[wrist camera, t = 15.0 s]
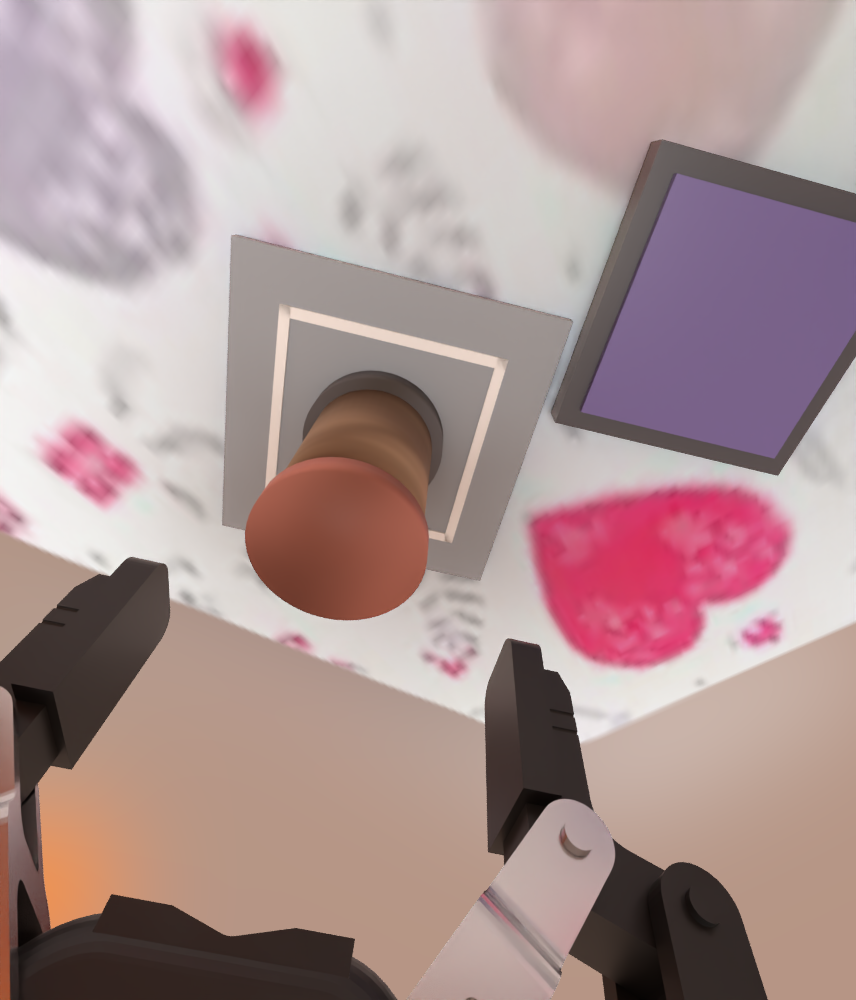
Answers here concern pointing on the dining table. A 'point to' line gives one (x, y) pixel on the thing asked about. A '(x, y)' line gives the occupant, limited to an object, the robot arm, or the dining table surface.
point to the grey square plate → (394, 349)
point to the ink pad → (718, 312)
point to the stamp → (351, 501)
